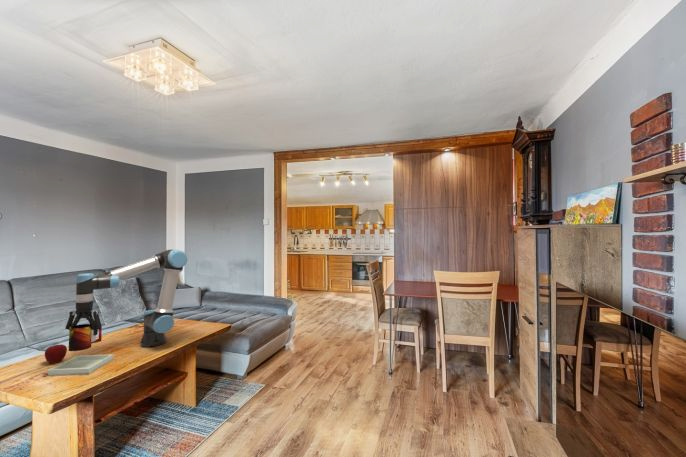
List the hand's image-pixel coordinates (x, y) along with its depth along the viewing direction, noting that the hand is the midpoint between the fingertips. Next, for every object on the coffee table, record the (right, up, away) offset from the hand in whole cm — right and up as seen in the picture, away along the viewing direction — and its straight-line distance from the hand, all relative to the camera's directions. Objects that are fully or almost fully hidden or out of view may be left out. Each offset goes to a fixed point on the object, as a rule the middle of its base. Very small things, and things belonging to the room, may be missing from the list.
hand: (83, 341), depth 172 cm
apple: (-22, -15, +7) cm, 27 cm away
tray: (0, -14, 0) cm, 14 cm away
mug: (0, -3, 0) cm, 3 cm away
